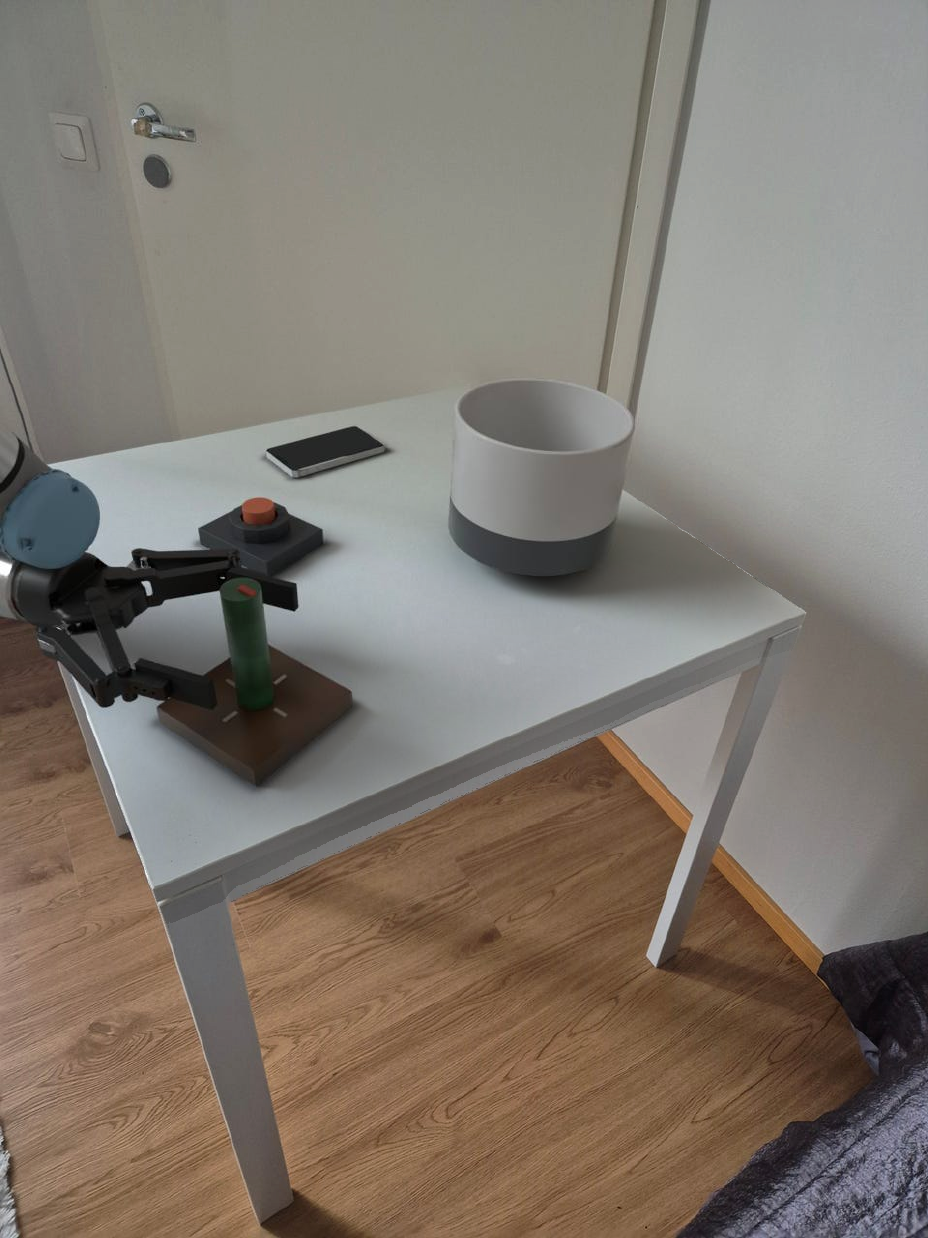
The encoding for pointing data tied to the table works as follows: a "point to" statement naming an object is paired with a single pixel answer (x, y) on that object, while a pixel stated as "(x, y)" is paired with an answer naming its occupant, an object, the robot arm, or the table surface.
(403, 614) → the table surface
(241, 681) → the dial knob
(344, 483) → the table surface
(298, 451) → the smartphone
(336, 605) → the table surface
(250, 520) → the button
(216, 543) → the button box
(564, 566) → the planter
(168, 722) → the dial base
